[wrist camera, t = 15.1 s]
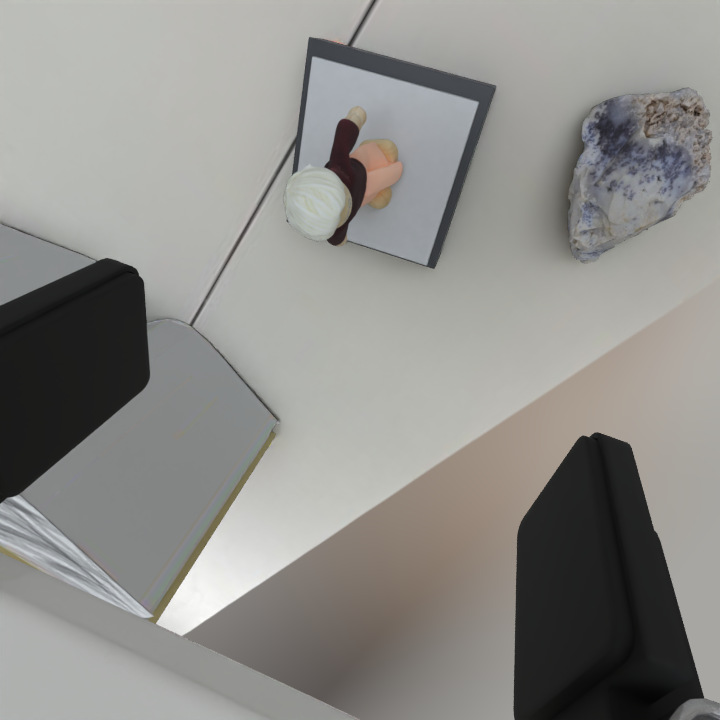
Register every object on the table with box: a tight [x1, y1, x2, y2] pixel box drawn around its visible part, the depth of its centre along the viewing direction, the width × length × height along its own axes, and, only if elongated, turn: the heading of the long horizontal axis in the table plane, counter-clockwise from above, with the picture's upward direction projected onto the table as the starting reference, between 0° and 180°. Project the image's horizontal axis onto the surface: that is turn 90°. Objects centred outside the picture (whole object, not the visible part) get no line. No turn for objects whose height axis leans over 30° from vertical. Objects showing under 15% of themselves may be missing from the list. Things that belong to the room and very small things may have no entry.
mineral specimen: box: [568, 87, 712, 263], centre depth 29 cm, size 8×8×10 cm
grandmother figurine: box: [284, 106, 403, 246], centre depth 26 cm, size 8×4×13 cm, turn 1°
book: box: [0, 224, 279, 624], centre depth 39 cm, size 36×8×24 cm, turn 56°
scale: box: [287, 37, 496, 269], centre depth 32 cm, size 12×12×3 cm
